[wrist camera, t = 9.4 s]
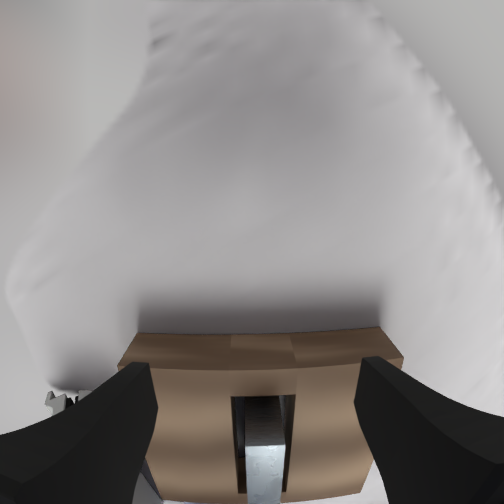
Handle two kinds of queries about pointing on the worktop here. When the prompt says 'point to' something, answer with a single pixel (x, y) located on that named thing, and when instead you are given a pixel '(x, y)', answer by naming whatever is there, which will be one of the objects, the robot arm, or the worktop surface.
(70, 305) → the worktop surface
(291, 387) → the slotted tan panel
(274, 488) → the grey flat-faced block
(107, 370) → the worktop surface
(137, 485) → the grey arched slab
